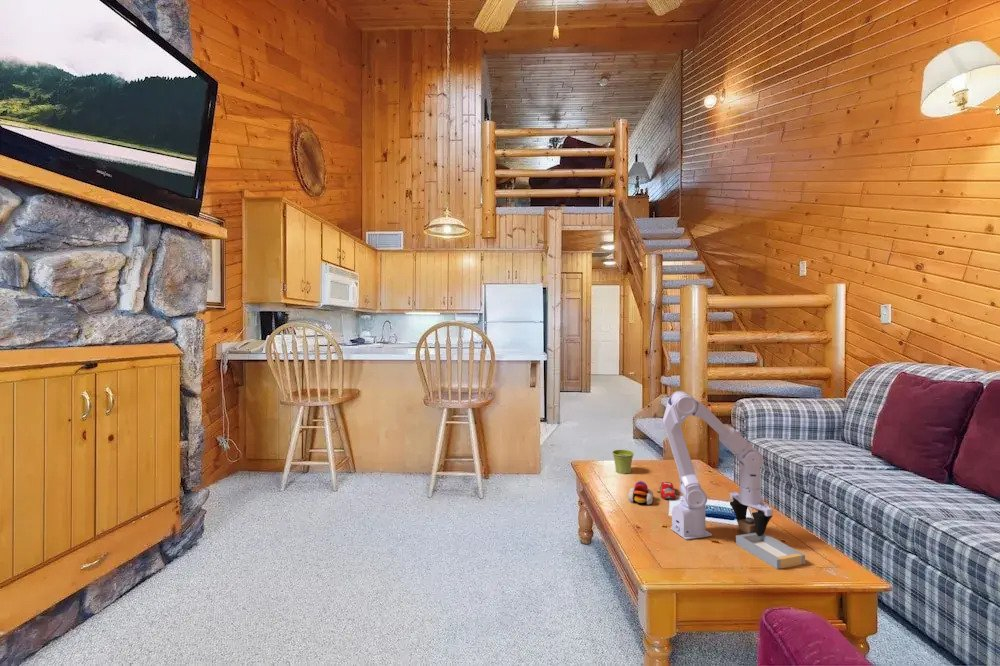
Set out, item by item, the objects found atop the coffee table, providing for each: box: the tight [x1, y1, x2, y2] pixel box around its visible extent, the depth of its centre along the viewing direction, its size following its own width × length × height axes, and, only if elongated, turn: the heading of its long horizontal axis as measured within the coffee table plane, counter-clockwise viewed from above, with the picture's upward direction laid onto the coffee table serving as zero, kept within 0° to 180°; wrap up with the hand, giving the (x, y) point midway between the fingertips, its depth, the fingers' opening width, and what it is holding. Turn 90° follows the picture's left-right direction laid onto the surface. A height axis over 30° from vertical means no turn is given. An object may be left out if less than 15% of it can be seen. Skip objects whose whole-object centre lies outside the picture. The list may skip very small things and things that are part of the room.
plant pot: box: [611, 449, 635, 475], centre depth 200 cm, size 9×9×9 cm
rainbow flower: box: [627, 480, 654, 506], centre depth 167 cm, size 8×10×7 cm
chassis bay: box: [735, 532, 806, 570], centre depth 128 cm, size 9×14×2 cm, turn 15°
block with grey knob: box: [737, 516, 756, 535], centre depth 139 cm, size 4×4×6 cm
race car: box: [659, 481, 677, 500], centre depth 174 cm, size 13×5×4 cm, turn 163°
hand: (750, 530), depth 139 cm, fingers open, 7 cm apart
